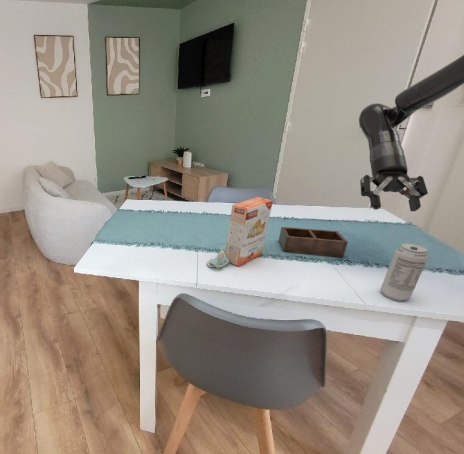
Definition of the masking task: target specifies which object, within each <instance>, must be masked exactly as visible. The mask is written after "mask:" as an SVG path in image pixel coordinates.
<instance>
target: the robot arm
mask: <svg viewBox="0 0 464 454" xmlns="http://www.w3.org/2000/svg"><path fill="white" fill-rule="evenodd" d="M463 85H464V54H463V55H461V56H460V57H458V58H456V59H455V60H453V61H452V62H450V63H448V64H446V65H445V66H443V67H442V68H440V69H438V70H437V71H435V72H433V73H431V74H430V75H427V76H426V77H424V78H423V79H421V80H419V81H417V82H416V83H414V84H413V85H411V86H409V87H408V88H406V89H403V90H402V91H401V92H399V93H397V95H396V96H395V99H394V105H395V106H393V107H391V106H389V105H385V104H383V103H371V104H368V105H366V106H365V107H364V108H363V109H362V110H361V112H360V114H359V116H358V123H359V127H360V129H361V132H362V133H363V135H364V136H365V138H366V140H367V143H368V150H369V164H370V170H371V176H370V174H365V175H364V176H363V177H362V178H361V179H359V180H360V181H359V182H360V195H361V196H362V197H367V198H369V203H370V206H371V208H373V210H374V211H375V210H377V211H378V210H379V209H381V207H382V203H381V196H380V193H381V192H384V193H389V192H390V193H391V192H392V193H399V194H400V195H401V196H405V197H406V198H407V199H408V200H407V201H408V206H409V210H410V212H416V211H418V210H419V209H420V208H421V207H422V205H421V199H422V198H423V197H425V196H427V195H428V194H429V192H428V188H427V186H426V182H425V179H424V176H422V175H418V176H417V177H410V176H409V175H408V171H409V169H408V165H407V160H406V155H405V150H404V148H403V146H402V142H401V141H402V140H401V138H400V133H399V131H398V129H396V127H398V126H399V125H401V124H402V123H403V122H404V121H406V120H407V119H409V118H410V117H411V116H412V115H413V114H415V113H416V112H417V111H419V110H421V109H423V108H425V107H428V106H429V105H431V104H432V103H435V102H437V101H439V100H441V99H442V98H444V97H445V96H448V95H449V94H451V93H452V92H454V91H456V90H457V89H458V88H460V87H461V86H463ZM371 183H373V184H374V185H375V188H374V189H373V190H371ZM404 188H405V189H404Z"/></svg>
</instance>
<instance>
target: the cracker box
mask: <svg viewBox="0 0 464 454" xmlns="http://www.w3.org/2000/svg"><path fill="white" fill-rule="evenodd" d="M273 202H274V201H273V200H271V199H268V198H263V197H260V196H256V197H253V198H249V199H247V200H243V201H241V202H237V203H234V204H232V205H231V213H230V219H229V225H228V226H229V227H228V231H227V240H226V245H225V251H224V252H225V255H224V256H225V257H227V258H228V259H229V262H228V264H229V263H230V264H232V265H233V266H236V267H240V266H242V265H244V264H246V263H247V262H250V261H252V260H254V259H257V258H258V257H260V256H262V255H263V250H264V245H265V240H266V235H267V232H268V226H269V222H270V216H271V211H272V207H273Z"/></svg>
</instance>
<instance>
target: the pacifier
mask: <svg viewBox="0 0 464 454" xmlns="http://www.w3.org/2000/svg"><path fill="white" fill-rule="evenodd" d="M225 252H226V251H225V250H224V249H221V250H220V251H219V252H218V254H217V256H216V257H214V258H212V259H209V260H208V261H207V262H206V266H207V267H210V268H215V267H216V269H221V268H223V267H225V266H226V265H228V264H229V259H228V258H227V257H225ZM220 267H221V268H220Z"/></svg>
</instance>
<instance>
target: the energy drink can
mask: <svg viewBox="0 0 464 454" xmlns="http://www.w3.org/2000/svg"><path fill="white" fill-rule="evenodd" d="M428 259H429V254H428V248H426V247H425V246H422V245H420V244H415V243H409V242H406V243H401V244H400V246H398V247H397V248H395V251H394V252H393V256H392V257H391V261H390V263H389V266H388V268H387V271H386V273H385V276H384V279H383V281H382V284H381V286H380V291H381V294H382V295H383V296H384V297H385V298H387V299H390V300H393V301H398V302H405V301H407V300H409V299H411V297H412V295H413V293H414V291H415V289H416V286H417V285H418V282H419V279H420V277H421V275H422V274H423V273H422V272H423V270H424V268H425V266H426V263H428V262H427V261H428Z"/></svg>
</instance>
